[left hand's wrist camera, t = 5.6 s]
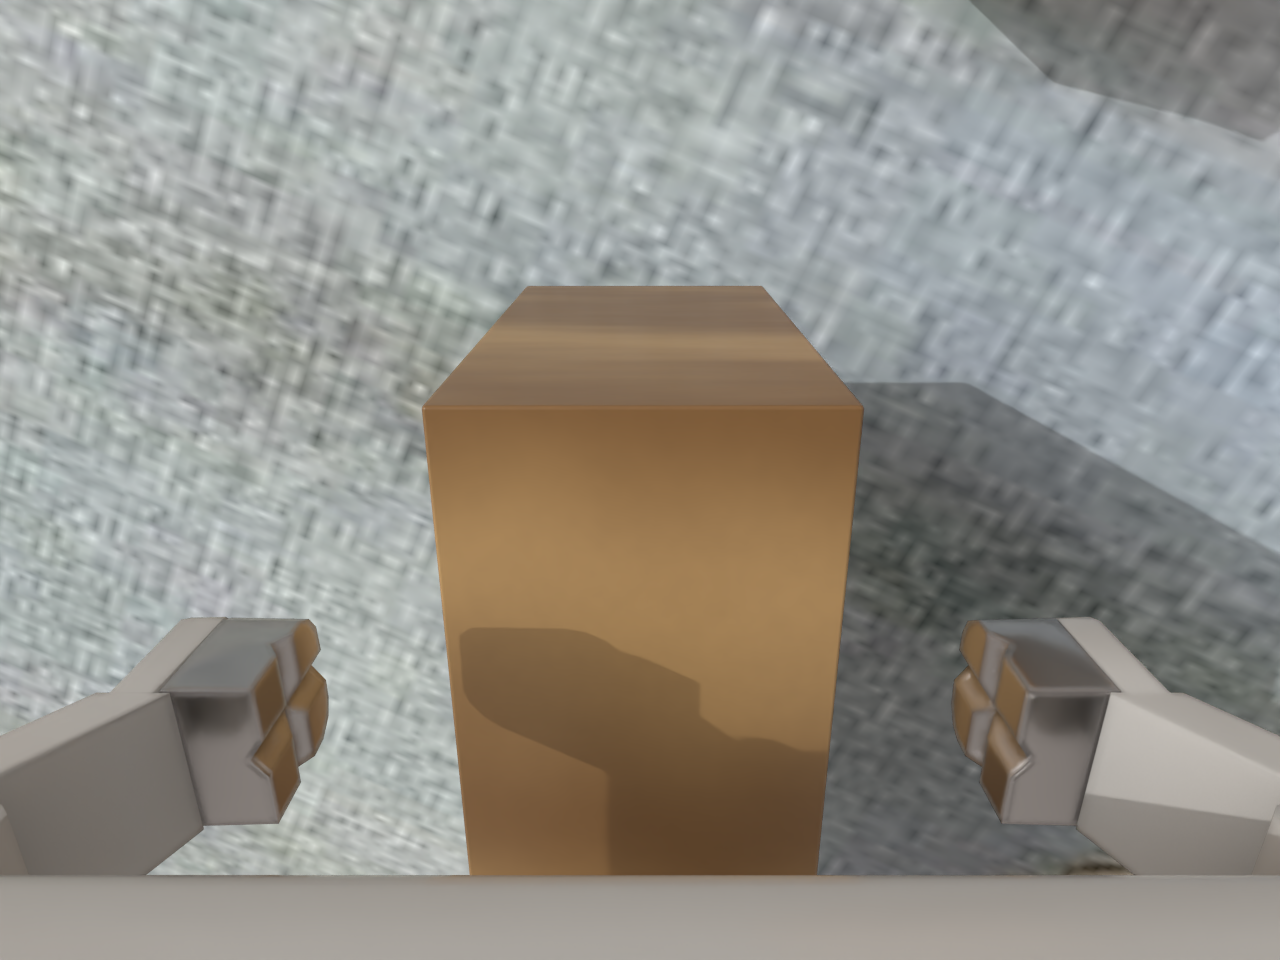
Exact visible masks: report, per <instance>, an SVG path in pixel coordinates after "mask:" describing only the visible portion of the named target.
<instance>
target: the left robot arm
mask: <svg viewBox="0 0 1280 960" xmlns="http://www.w3.org/2000/svg"><path fill="white" fill-rule="evenodd" d="M320 650H321V648H320V644H319V639H318V634H317V629H316V626H315V625H314V624H313V623H312V622H311V621H310V620H309V619H275V618H227V617H200V618H188V619H182V620H181V621H180V622H179V623H178V624H177V625H176V626H175V627H174V628H173V629H172V630H171V631H170V632H169V633H168V634H167V635H166V636H165V637H164V638H163V639H162V640H161V641H160V642H159V643H158V644H157V645H156V646H155V647H154V648H153V649H152V650H151V651H150V652H149V653H148V654H147V655H146V656H145V657H144V658H143V659H142V660H141V661H140V662H139V663H138V664H137V665H136V667H135V668H134V669H133V670H132V671H131V672H130V673H129V674H128V675H127V676H126V677H125V678H124V679H123V680H122V681H121V682H120V683H119V684H118V685H117V686H116V687H115V688H114V689H113V690H112V691H111V692H110V693H95V694H93V695H90V696H88V697H86V698H84V699H81V700H79V701H77V702H75V703H73V704H70V705H68V706H66V707H64V708H61V709H59V710H57V711H55V712H52V713H50V714H48V715H46V716H44V717H41V718H39V719H37V720H35V721H32V722H30V723H28V724H26V725H23V726H21V727H19V728H17V729H15V730H12V731H10V732H8V733H6V734H3V735H1V736H0V960H1280V736H1279V735H1276V734H1274V733H1272V732H1270V731H1267V730H1265V729H1263V728H1261V727H1259V726H1256V725H1254V724H1252V723H1250V722H1247V721H1245V720H1243V719H1241V718H1239V717H1236V716H1234V715H1232V714H1230V713H1227V712H1225V711H1223V710H1221V709H1219V708H1216V707H1214V706H1212V705H1210V704H1207V703H1205V702H1203V701H1201V700H1198V699H1196V698H1194V697H1192V696H1190V695H1187V694H1185V693H1170V692H1169V691H1168V690H1167V689H1166V688H1165V687H1164V686H1163V685H1162V684H1161V683H1160V682H1159V681H1158V680H1157V679H1156V678H1155V677H1154V676H1153V675H1152V674H1151V673H1150V672H1149V670H1148V669H1147V668H1146V667H1145V666H1144V665H1143V664H1142V663H1141V662H1140V661H1139V660H1138V659H1137V658H1136V657H1135V656H1134V655H1133V654H1132V653H1131V652H1130V651H1129V650H1128V649H1127V648H1126V647H1125V646H1124V645H1123V644H1122V643H1121V642H1120V641H1119V640H1118V639H1117V638H1116V637H1115V636H1114V635H1113V634H1112V633H1111V632H1110V631H1109V629H1108V628H1107V627H1106V626H1105V625H1104V624H1103V623H1102V622H1101V621H1099V620H1097V619H1094V618H1091V617H1070V618H1041V619H1000V620H971V621H968V622H967V624H966V626H965V628H964V630H963V632H962V637H961V643H960V648H959V650H960V652H961V653H962V655H963V657H964V658H965V660H966V662H967V663H968V666H967V667H966V668H965V669H964V671H963V672H962V673H961V674H960V675H959V676H958V677H957V678H956V679H955V680H954V685H953V692H952V700H951V708H952V720H953V727H954V730H955V734H956V737H957V740H958V743H959V745H960V747H961V749H962V751H963V753H964V755H965V756H966V757H968V758H969V759H971V760H972V761H974V762H975V763H977V764H978V765H980V766H981V767H982V769H981V774H980V780H979V783H980V785H981V787H982V788H983V790H984V792H985V794H986V796H987V798H988V799H989V801H990V803H991V805H992V807H993V809H994V810H995V812H996V814H997V816H998V818H999V820H1000V822H1001V823H1002V824H1033V825H1069V826H1077V827H1076V829H1077V830H1078V831H1079V832H1080V833H1082V834H1083V835H1084V836H1085V837H1087V838H1088V839H1089V840H1091V841H1092V842H1093V843H1094V844H1096V845H1097V846H1098V847H1099V848H1101V849H1102V850H1103V851H1105V852H1106V853H1107V854H1108V855H1110V856H1111V857H1112V858H1113V859H1115V860H1116V861H1117V862H1118V863H1120V864H1121V865H1122V866H1124V867H1125V868H1126V869H1127V870H1129V871H1130V872H1131V873H1132V874H1134V875H147V874H148V873H149V872H150V871H152V870H153V869H154V868H155V867H157V866H158V865H159V864H161V863H162V862H163V861H164V860H166V859H167V858H168V857H169V856H171V855H172V854H173V853H175V852H176V851H177V850H178V849H180V848H181V847H182V846H183V845H185V844H186V843H187V842H188V841H190V840H191V839H192V838H194V837H195V836H196V835H197V834H199V833H200V832H201V831H202V830H204V827H203V826H210V825H246V824H279V822H280V820H281V818H282V816H283V814H284V812H285V811H286V809H287V807H288V805H289V803H290V801H291V799H292V798H293V796H294V794H295V792H296V790H297V788H298V787H299V785H300V783H301V780H300V774H299V769H298V767H299V766H300V765H302V764H303V763H305V762H306V761H308V760H309V759H311V758H312V757H314V756H315V754H316V752H317V750H318V748H319V746H320V744H321V742H322V740H323V738H324V734H325V729H326V725H327V720H328V698H329V697H328V690H327V684H326V680H325V679H324V678H323V677H322V676H321V675H320V674H319V673H318V672H317V671H316V669H315V668H314V667H313V666H312V663H313V662H314V660H315V658H316V657H317V655H318V653H319V652H320Z"/></svg>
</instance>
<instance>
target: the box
mask: <svg viewBox="0 0 1280 960" xmlns="http://www.w3.org/2000/svg"><path fill="white" fill-rule="evenodd" d="M422 415H423V424H424V434H425V444H426V453H427V463H428V473H429V483H430V492H431V502H432V512H433V522H434V531H435V541H436V551H437V561H438V570H439V580H440V590H441V599H442V609H443V619H444V629H445V638H446V648H447V658H448V668H449V677H450V687H451V697H452V706H453V716H454V726H455V736H456V745H457V755H458V765H459V775H460V784H461V794H462V804H463V813H464V823H465V833H466V843H467V852H468V862H469V872H470V875H817V868H818V858H819V848H820V838H821V828H822V818H823V809H824V799H825V789H826V779H827V769H828V759H829V750H830V740H831V730H832V720H833V710H834V700H835V690H836V681H837V671H838V661H839V651H840V641H841V631H842V621H843V612H844V602H845V592H846V582H847V572H848V562H849V553H850V543H851V533H852V523H853V513H854V503H855V493H856V484H857V474H858V464H859V454H860V444H861V434H862V424H863V415H864V407H863V405H862V404H861V403H860V402H859V401H858V400H857V398H856V397H855V396H854V395H853V394H852V392H851V391H850V390H849V389H848V388H847V386H846V385H845V384H844V383H843V382H842V381H841V379H840V378H839V377H838V376H837V375H836V373H835V372H834V371H833V370H832V369H831V367H830V366H829V365H828V364H827V363H826V361H825V360H824V359H823V358H822V357H821V356H820V354H819V353H818V352H817V351H816V350H815V348H814V347H813V346H812V345H811V344H810V342H809V341H808V340H807V339H806V338H805V336H804V335H803V334H802V333H801V332H800V331H799V329H798V328H797V327H796V326H795V325H794V323H793V322H792V321H791V320H790V319H789V317H788V316H787V315H786V314H785V313H784V312H783V310H782V309H781V308H780V307H779V306H778V304H777V303H776V302H775V301H774V300H773V298H772V297H771V296H770V295H769V294H768V292H767V291H766V290H765V289H764V288H763V287H762V286H528V287H526V288H525V289H524V291H523V292H522V293H521V294H520V295H519V296H518V297H517V299H516V300H515V301H514V302H513V303H512V304H511V306H510V307H509V308H508V309H507V310H506V311H505V312H504V314H503V315H502V316H501V317H500V318H499V319H498V320H497V322H496V323H495V324H494V325H493V326H492V327H491V328H490V330H489V331H488V332H487V333H486V334H485V335H484V336H483V338H482V339H481V340H480V341H479V342H478V343H477V345H476V346H475V347H474V348H473V349H472V350H471V351H470V353H469V354H468V355H467V356H466V357H465V358H464V359H463V361H462V362H461V363H460V364H459V365H458V366H457V367H456V369H455V370H454V371H453V372H452V373H451V374H450V375H449V377H448V378H447V379H446V380H445V381H444V382H443V384H442V385H441V386H440V387H439V388H438V389H437V390H436V392H435V393H434V394H433V395H432V396H431V397H430V398H429V400H428V401H427V402H426V403H425V404H424V405H423V407H422Z"/></svg>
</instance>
